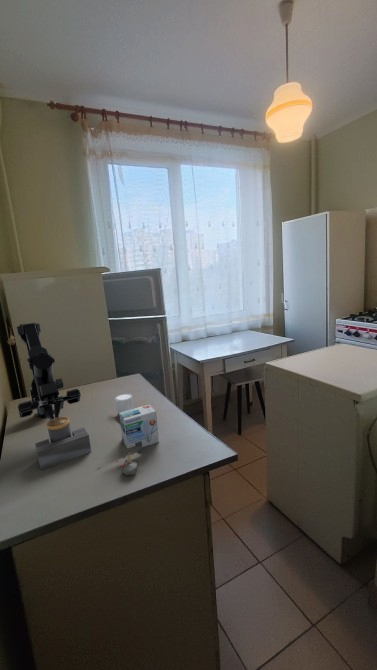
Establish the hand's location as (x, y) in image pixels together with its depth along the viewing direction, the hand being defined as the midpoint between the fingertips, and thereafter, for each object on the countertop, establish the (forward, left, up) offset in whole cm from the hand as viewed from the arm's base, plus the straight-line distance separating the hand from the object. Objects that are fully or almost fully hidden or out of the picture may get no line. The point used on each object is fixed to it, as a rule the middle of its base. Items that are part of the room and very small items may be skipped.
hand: (56, 426), depth 95 cm
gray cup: (+5, -2, -6) cm, 8 cm away
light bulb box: (+23, +14, -8) cm, 28 cm away
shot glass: (+3, +28, -8) cm, 29 cm away
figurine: (+30, +1, -8) cm, 31 cm away
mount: (+3, -2, -8) cm, 9 cm away
